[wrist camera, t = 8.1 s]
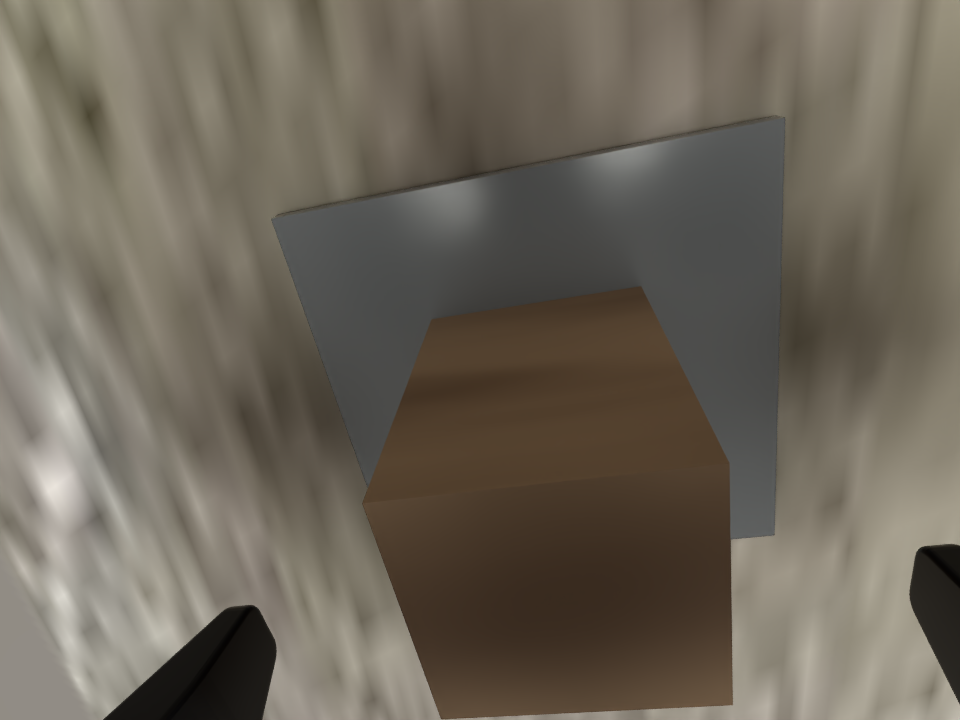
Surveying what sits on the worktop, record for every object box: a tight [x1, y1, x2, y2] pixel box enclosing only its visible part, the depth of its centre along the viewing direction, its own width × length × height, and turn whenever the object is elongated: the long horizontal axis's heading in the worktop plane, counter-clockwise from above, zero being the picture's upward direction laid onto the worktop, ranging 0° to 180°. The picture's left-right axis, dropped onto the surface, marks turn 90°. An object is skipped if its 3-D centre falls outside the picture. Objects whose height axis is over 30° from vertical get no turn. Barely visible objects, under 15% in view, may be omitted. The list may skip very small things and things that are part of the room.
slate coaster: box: [271, 116, 785, 539], centre depth 14 cm, size 10×10×1 cm
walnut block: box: [362, 286, 733, 719], centre depth 11 cm, size 4×4×6 cm
